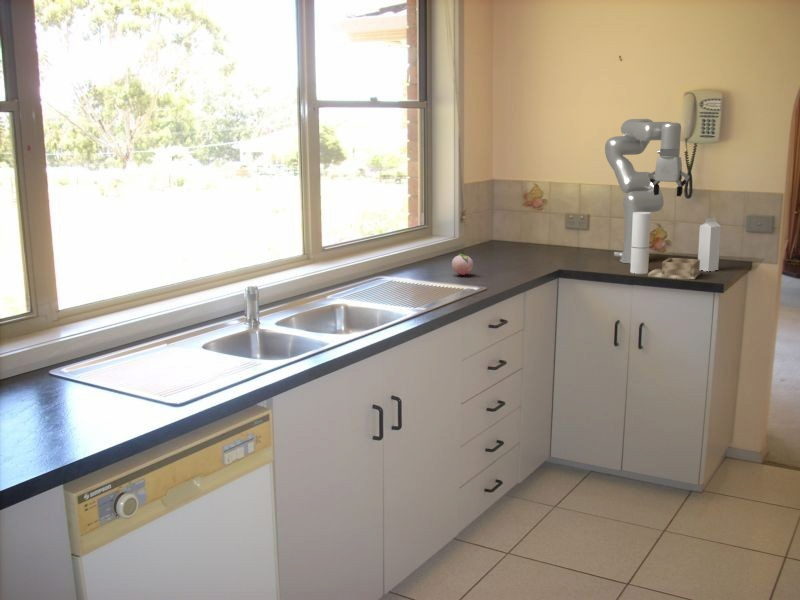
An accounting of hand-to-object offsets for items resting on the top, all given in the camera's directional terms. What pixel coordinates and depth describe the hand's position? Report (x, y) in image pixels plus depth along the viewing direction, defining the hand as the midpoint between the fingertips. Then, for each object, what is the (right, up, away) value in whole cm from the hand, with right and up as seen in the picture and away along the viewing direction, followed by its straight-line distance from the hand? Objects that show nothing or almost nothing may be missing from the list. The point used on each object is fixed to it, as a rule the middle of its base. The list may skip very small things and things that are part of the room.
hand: (667, 195), depth 354 cm
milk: (+20, -31, +9) cm, 37 cm away
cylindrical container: (-10, -32, +6) cm, 34 cm away
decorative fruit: (-85, -33, +3) cm, 91 cm away
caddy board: (+2, -33, -2) cm, 33 cm away
